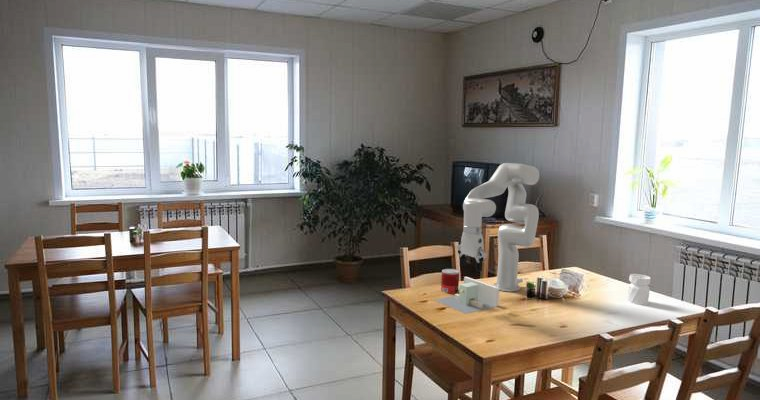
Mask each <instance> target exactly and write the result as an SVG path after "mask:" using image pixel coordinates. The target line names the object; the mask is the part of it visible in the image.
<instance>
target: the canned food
mask: <svg viewBox="0 0 760 400" xmlns="http://www.w3.org/2000/svg"><path fill="white" fill-rule="evenodd" d="M459 283H460V271H459V270H457V269H455V268H454V269H453V268H445V269H442V270H441V282H440V284H441V285H440V287H441V288H440V291H441V292H442V293H446V294H458V293H459V287H460V284H459Z"/></svg>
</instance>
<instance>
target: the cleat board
mask: <svg viewBox="0 0 760 400" xmlns="http://www.w3.org/2000/svg"><path fill="white" fill-rule="evenodd" d="M470 282H472V283H475V284H478V285H479V289H478V302H477V301H475V300H472V299H469V305H464V304H462V303H459V293H454V295H452V296H448V297H447V296H446V297H443V298H441V297H440V298H438V299H437V298H436V299H434V301H435V302H438V303H440V304H441V305H444V306H446V307H449V308H452V309H454V310H456V311H458V312H461V313H463V314H465V315H467V314H472V313H475V312H480V311H484V310H487V309H493V308H497V307H499V298H500V290H499V288H498V287H495V286H493V285H492V284H489V283H486V282H482V281H480V280H477V279H474V278H472V277H468V276H463V284H465V283H470Z"/></svg>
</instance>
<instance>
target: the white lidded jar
mask: <svg viewBox="0 0 760 400" xmlns="http://www.w3.org/2000/svg"><path fill="white" fill-rule="evenodd" d="M651 280H652V279H651V277H650V276H648V275H645V274H639V273H630V274H629V278H628V281H629V282H630V284H628V289H627V302H628V301H630V302H631V303H630V302H629V303H630V304H633V303H634V304H635V305H638V306H639V305H640V306H646V305H648V304H649V298H650V297H649V296H650V290H651V289H650V287H649V285H650V284H651ZM634 304H633V305H634Z"/></svg>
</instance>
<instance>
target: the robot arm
mask: <svg viewBox="0 0 760 400" xmlns="http://www.w3.org/2000/svg"><path fill="white" fill-rule="evenodd" d="M539 180H540V172H539V169H538V168H537V167H536V166H533V165H528V164H524V163H517V162H516V163H515V162H504V163H501V164H500V165H499V166H498V167H496V170H495V171H494V173H493V174H492V176H491V177H490V178H489V180H488V181H486V182H483V183H482V184H480V185H477V186H475V187H474V188H473V189H471V190H470V191H469V193H468V194H467V196H466V197H465V198H464V200H463V203H462V210H463V226H462V227H463V231H462V235H461V238H460V239H461V240H460V244H458V245H457V246H456V249H457V253H458V257H459V267H464V266H467V256H468V257H471V258H474V259H475V261H476V262H475V272H477V273H479V272H482V270H483V263H484V262H485V260H486V259H487V256H488V253H487V252H486V251H485V247H484V244H485V243H484V237H483V233H482V232H483V229H482V221H483V220H482V218H483V217H484V218H488V217H489V218H490V217H491V216H494V214H495V213H496V211H497V205H496V202H494V200H492V199H488V198H494V197H497V196H500V195H502V194H504V193H505V192H506V189H507V190H508V193H507V194H508V195H507V200H506V206H505V211H504V217H505V219H506V220H507V221H508V222H511V223H516V224H511V223H505V224H502V225H500V226H499V227H498V230H497V239H498V257H497V274H496V282H495V283H493V285H492V286H495V287H498V288H499V291H501V292H502V291H503V292H518V291H520V289H521V287H520V285H519V283H523V282H524V280H523V278H518V273H519V272H518V271H519V270H518V269H519V255H520V254H519V249H518V248H517V246H519V247H524V248H525V247H526V248H529V247H531V246H533V244H534V242H535V238H536V233H537V229H538V223H539V218H540V217H539V215H540V212H539V208H538V207H537V206H536V205H535V204H530V203H526V201H527V196H528V195H527V192H526V188H525V187H524V185H530V186H533V185H536V184H537V183H538V182H539ZM518 224H524V225H518Z"/></svg>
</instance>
